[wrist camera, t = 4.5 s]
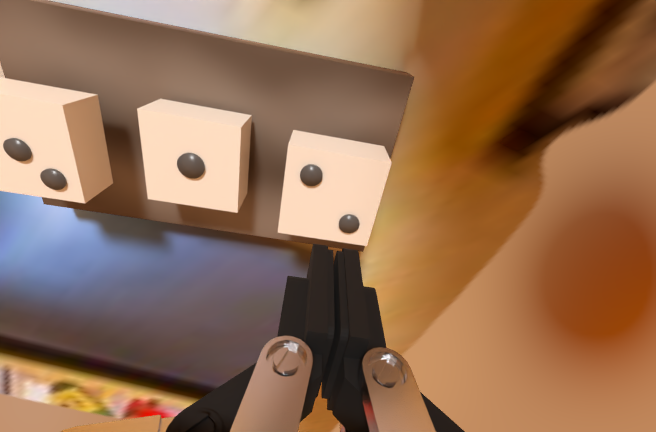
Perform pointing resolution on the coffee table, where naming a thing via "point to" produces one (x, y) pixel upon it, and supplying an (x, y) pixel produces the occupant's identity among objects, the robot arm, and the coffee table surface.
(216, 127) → the single pip block
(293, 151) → the two pip cube
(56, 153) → the three dot tile
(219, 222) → the brown board
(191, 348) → the coffee table surface
